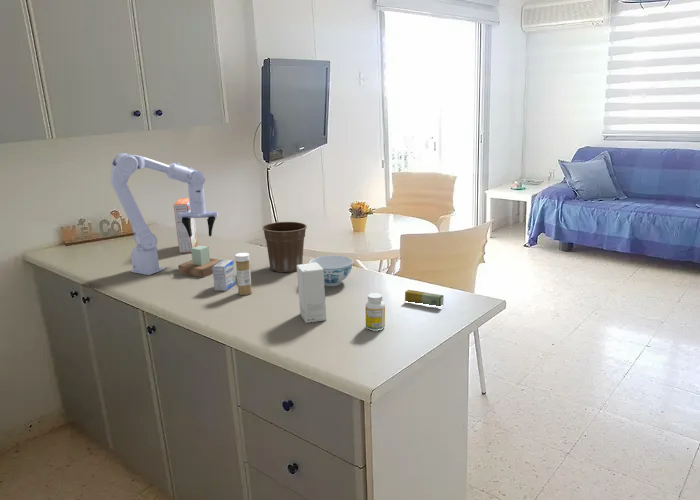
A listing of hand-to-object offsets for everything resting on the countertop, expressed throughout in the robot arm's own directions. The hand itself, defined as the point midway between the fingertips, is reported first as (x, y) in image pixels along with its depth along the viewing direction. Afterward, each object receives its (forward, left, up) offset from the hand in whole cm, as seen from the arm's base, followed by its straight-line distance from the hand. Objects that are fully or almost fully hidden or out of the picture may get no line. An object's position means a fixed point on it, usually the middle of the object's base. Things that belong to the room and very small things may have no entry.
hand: (200, 236), depth 220 cm
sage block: (+8, -9, -7) cm, 14 cm away
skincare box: (+69, -30, -11) cm, 76 cm away
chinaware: (+59, -1, -11) cm, 60 cm away
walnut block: (+8, -9, -10) cm, 16 cm away
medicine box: (+28, -20, -11) cm, 36 cm away
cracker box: (-19, +12, -11) cm, 25 cm away
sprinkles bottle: (+38, -22, -11) cm, 45 cm away
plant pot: (+35, +7, -11) cm, 37 cm away
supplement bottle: (+89, -29, -11) cm, 94 cm away
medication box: (+95, -7, -11) cm, 96 cm away
